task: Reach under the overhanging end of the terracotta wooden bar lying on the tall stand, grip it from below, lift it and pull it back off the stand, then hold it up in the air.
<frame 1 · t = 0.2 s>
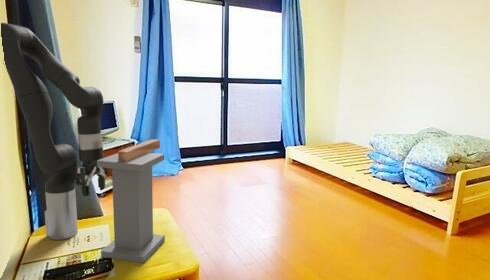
hand: (94, 191, 111), 18 cm above the table, tool pointing down, fingers open, 8 cm apart
bar: (141, 153, 108), point 32 cm above the table, touching stand
stand: (134, 248, 108), on the table
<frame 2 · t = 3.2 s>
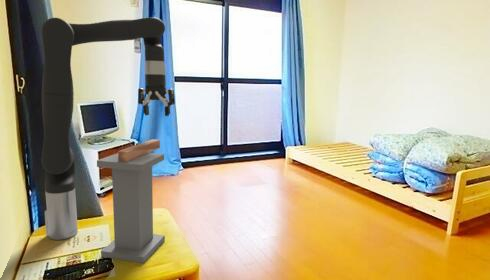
hand: (156, 115, 124), 43 cm above the table, tool pointing down, fingers open, 8 cm apart
nothing on the table moved.
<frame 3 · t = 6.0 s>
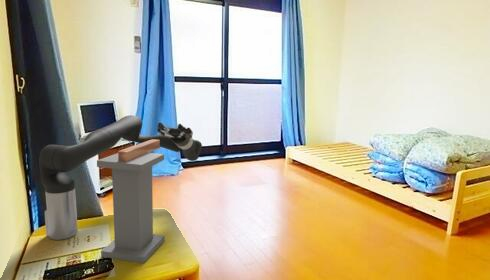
hand: (169, 125, 128), 39 cm above the table, tool pointing upward, fingers open, 8 cm apart
nothing on the table moved.
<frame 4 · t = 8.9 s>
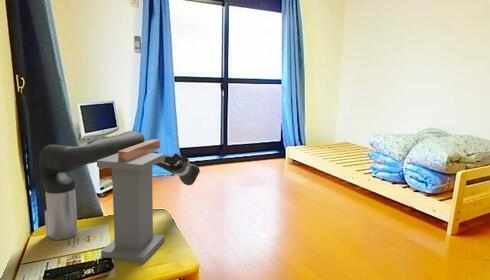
hand: (165, 154, 127), 28 cm above the table, tool pointing upward, fingers open, 8 cm apart
nothing on the table moved.
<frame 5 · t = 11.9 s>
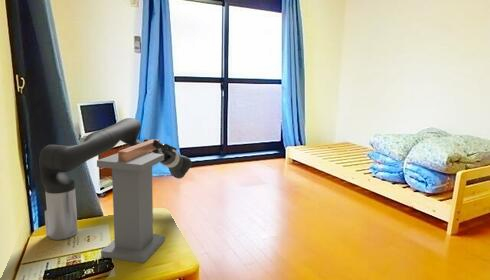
hand: (149, 142, 113), 35 cm above the table, tool pointing upward, fingers closed on bar, 3 cm apart
bar: (141, 153, 108), point 32 cm above the table, touching gripper, stand
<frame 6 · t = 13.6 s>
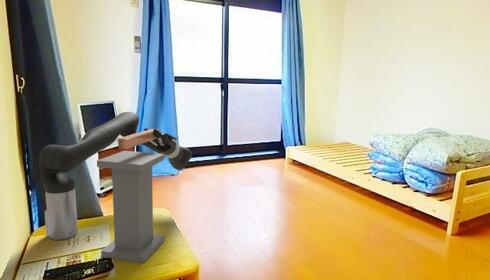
hand: (149, 131, 113), 39 cm above the table, tool pointing upward, fingers closed on bar, 3 cm apart
bar: (141, 142, 107), point 36 cm above the table, touching gripper
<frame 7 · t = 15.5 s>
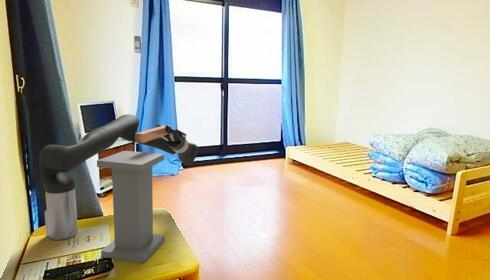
hand: (162, 127, 122), 39 cm above the table, tool pointing upward, fingers closed on bar, 3 cm apart
bar: (154, 137, 117), point 36 cm above the table, touching gripper
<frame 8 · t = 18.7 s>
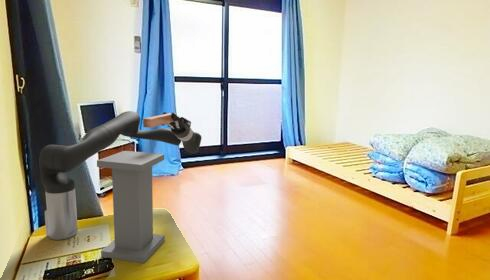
hand: (168, 114, 127), 43 cm above the table, tool pointing upward, fingers closed on bar, 3 cm apart
bar: (161, 123, 121), point 40 cm above the table, touching gripper
at the end: the gripper is holding bar; bar touching gripper; bar moved 17.7 cm from its start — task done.
